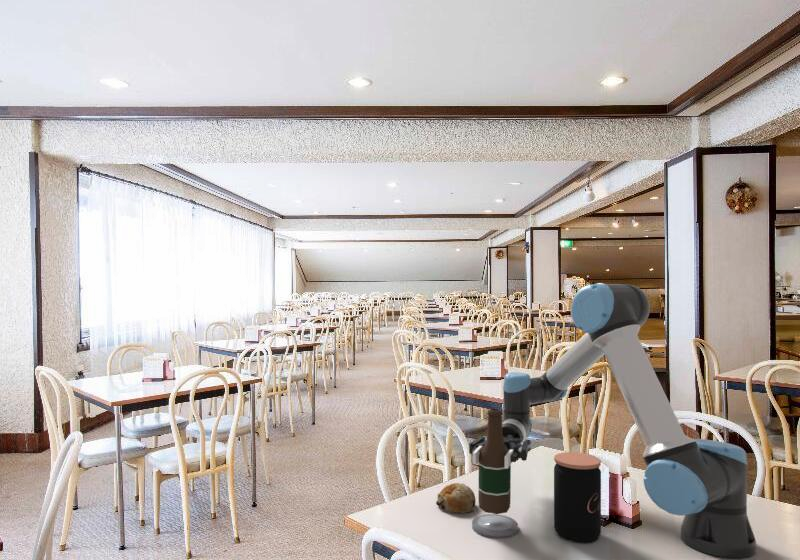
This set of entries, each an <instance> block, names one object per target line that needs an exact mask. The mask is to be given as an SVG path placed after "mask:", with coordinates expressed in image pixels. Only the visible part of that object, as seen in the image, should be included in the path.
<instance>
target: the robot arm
mask: <svg viewBox="0 0 800 560" xmlns="http://www.w3.org/2000/svg"><path fill="white" fill-rule="evenodd" d="M650 312H651V305H650V300H649V298H648V296H647V294H646V293H645V292H644V290H642V289H641V288H639V287H638V286H636V285H633V284H629V283H602V282H597V283H594V284H587V285H585V286H582V287H581V288H580V289H578V291H577V292H576V293H575V295H574V297H573V299H572V303H571V304H570V315H571V320H572V322H573V324H574V326H575V327H576V328H577V329H578V330H580V331H582V332H584V334H583V335H582V336H581V337H580V338H579V339H578V340H577V341H576V342H575V343H574V344H573V345H572V346H571V347H569V349H568V350H566V351H565V353H563V354H562V355H561V356H560V358H558V359H557V360H556V362H554V363H553V364H552V365H551V366H550V367H549V368H548V369H547V370H546V371H545V372H544V373H542V375H541V376H538V377H531V376H530V374H529V373H527V372H526V373H525V372H518V371H517V372H507V373H506V374H505V375H504V377H503V385H502V390H503V410H502V413H503V414H502V416H503V417H502V419H503V421H502V433H503V441H504V444H505V446H506V447H507V449H508V453H507V454H506V456H505V468H506V469H508V468H509V466H510V465H512V463H516V462H517V461H519V459H521V461H523V462H525V461H527V459H528V458H527V457H528V454H529V452H531V449H532V447H531V446H532V445H531V444H532V443H531V442H532V441H531V440H530V439H527V438H528V437H529V436H530V434H531V432H532V428H533V422H532V420H531V405H536V404H543V403H549V402H552V403H553V402H557V401H558V400H562V399H564V398H565V397H566V395H567V393H568V389H569V388H570V386H571V385H573V384H574V383H575V381H577V380H578V379H579V378H580V377H581V376H583V374H584V373H586V372H587V371H588V370H589V369H590V368H591V367H593V365H595V364H596V363H597V362H598V361H599V360H600V359H601V358H602V357H604V356H605V359H606V361H607V363H608V365H609V367H610V370H611V372H612V374H613V376H614V378H615V380H616V384H617V385H618V387H619V390H620V392H621V394H622V396H623V398H624V401H625V402H626V405H627V407H628V410H629V412H630V415H631V417H632V418H633V420H634V423H635V426H636V427H637V430H638V432H639V434H640V436H641V438H642V441H643V443H644V445H645V449H644V451H643V454H642V458H643V461H644V462H645V466H646V468H645V469H644V476H643V485H644V489H645V491H646V493H647V495H648V497H649V498H650V500H651V501H652V502H653V503H654V504H655V505H656V506H657V507H659V509H661V510H663V511H665V513H666V512H667V513H668V514H670V515H675V516H679V517H681V516H683V520H682V523H681V526H680V539H681V540H682V542H684V544H685V545H687V546H689V548H693V549H694V550H697V551H699V552H700V553H701V552H702V553H705V554H708V555H711V556H716V557H719V558H720V557H722V558H728V559H744V558H749V557H752V556H754V555H755V554H756V553H757V540H756V538H755V537H756V536H755V534H754V531H753V528H752V526H751V523H750V520H749V517H748V513H747V510H748V509H747V502H748V500H747V499H748V494H747V493H748V492H747V491H748V490H747V489H748V465H749V464H748V462H747V452H746V450H744V448H742V447H741V446H738V445H737V444H736V445H735V444H733V443H728V442H724V441H723V442H722V441H719V440H712V439H703V438H692V437H691V436H688V435H686V434H685V432H684V431H683V429H682V426H681V424H680V422H679V420H678V418H677V416H676V414H675V411H674V410H673V407H672V405H671V403H670V401H669V399H668V397H667V395H666V392H665V391H664V389H663V387H662V384H661V382H660V380H659V378H658V376H657V374H656V372H655V369H654V368H653V365H652V364H651V361H650V360H649V357H648V356H647V353H646V351H645V349H644V347H643V345H642V342H641V340H640V339H639V338H640V337H638V334H639V332H640V330H641V328H642V327H643V325H644V324H645V323H646V322H647V320H648V318H649V316H650ZM486 439H487V435H486V436H484V434H479V436H478V437H476V438H475V439H474V440H472V441H471V442H469V444H468V445H469V446H468V447H469V449H468V453H469V454H470V455H471V457H472V465H477V463H479V455H480V452H481V449H482V448H483V446H484V445H485V443H486ZM520 448H521V450H519V449H520Z"/></svg>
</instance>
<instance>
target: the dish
mask: <svg viewBox="0 0 800 560" xmlns="http://www.w3.org/2000/svg"><path fill="white" fill-rule="evenodd" d="M471 528H472V530H473V532H475V533H476V534H478V535H480V536H483V537H487V538H493V539H505V538H509V537H510V538H511V537H513V536H515V535H516V534H517V533H518V532H519V524H518V522H517V521H516V519H514V518H512V517H510V516H507V515H503V514H493V513H486V514H481V515H477V516H475V517H473V519H472V520H471Z"/></svg>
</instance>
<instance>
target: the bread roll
mask: <svg viewBox="0 0 800 560" xmlns="http://www.w3.org/2000/svg"><path fill="white" fill-rule="evenodd" d="M436 500H437V501H436V505H437V506H438V507H439V509H440V510H442V511H444V512H447V513H451V514H468V513H470V512H474V511H475V510H476V502H477V501H476V495H475V493H474V491H473V489H472V488H471V487H470V486H469V485H466V484H465V483H462V482H461V483H460V482H454V483H451V484H448V485H446V486H444V487H443V488H442V489H441V491H440V492H439V493H437V499H436Z"/></svg>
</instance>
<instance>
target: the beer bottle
mask: <svg viewBox="0 0 800 560" xmlns="http://www.w3.org/2000/svg"><path fill="white" fill-rule="evenodd" d="M486 414H487V416H488V418H487V431H486V438H487V439H486V443H485V445H484V446H483V448H482V449H481V452H480V455H479V461H478V508H479V509H480V510H481V511H483V512H484V513H486V514H498V515H502V514H506V513H508V511H509V509H510V508H511V496H512V495H511V485H512V484H511V476H512V475H511V474H512V473H511V471H512V470H511V469H512V466H511V465H512V464H511V465H510V466H509V468H508V469H506V468H505V456H506V454H507V453H508V449H507V447H506V446H505V444H504V441H503V433H502V423H503V421H502V419H503V417H502V416H503V410H501V409H500V408H489V409H488V410H487V413H486Z"/></svg>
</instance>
